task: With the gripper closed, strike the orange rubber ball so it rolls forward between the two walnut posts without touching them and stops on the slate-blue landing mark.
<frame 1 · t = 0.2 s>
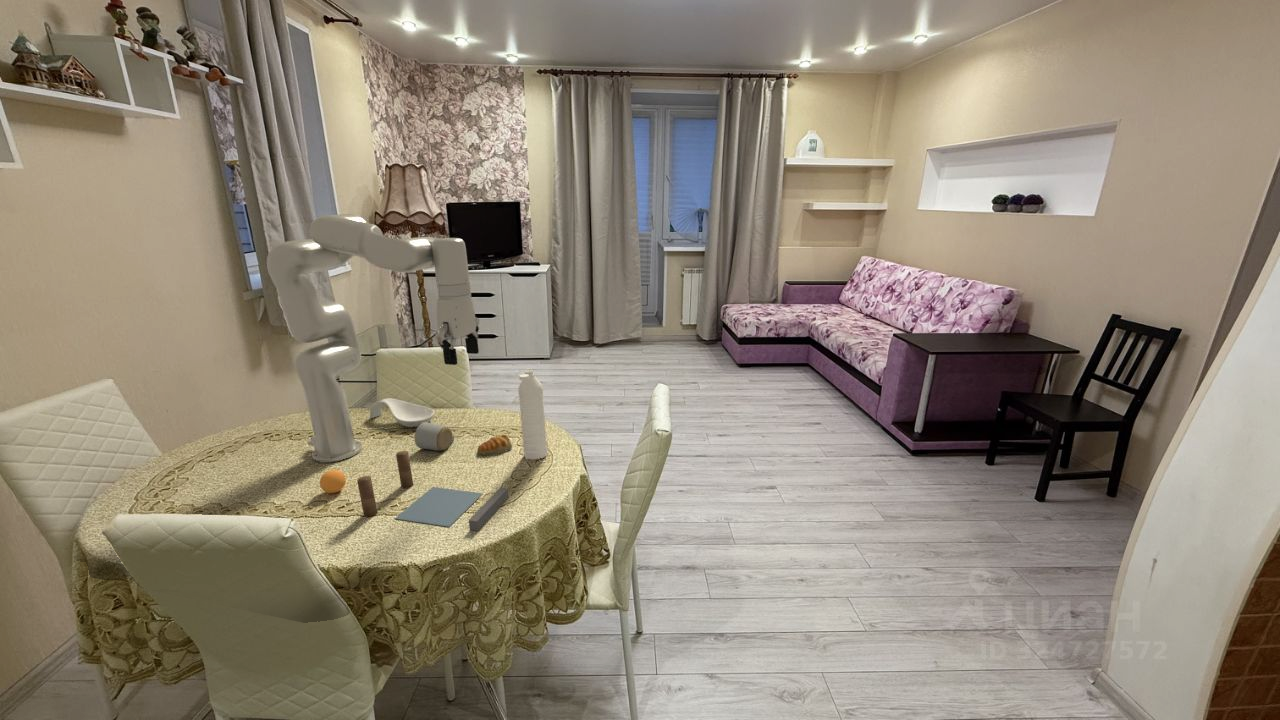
hand: (462, 358, 132), 31 cm above the table, tool pointing down, fingers open, 9 cm apart
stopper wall: (490, 512, 121), on the table
water bottle: (534, 457, 147), on the table
post 2: (407, 485, 133), on the table
landing mark: (440, 506, 124), on the table
ball: (332, 481, 130), on the table
pastry: (496, 450, 152), on the table
post 1: (370, 513, 121), on the table
spoon rest: (402, 422, 173), on the table
ceramic mug: (438, 447, 155), on the table
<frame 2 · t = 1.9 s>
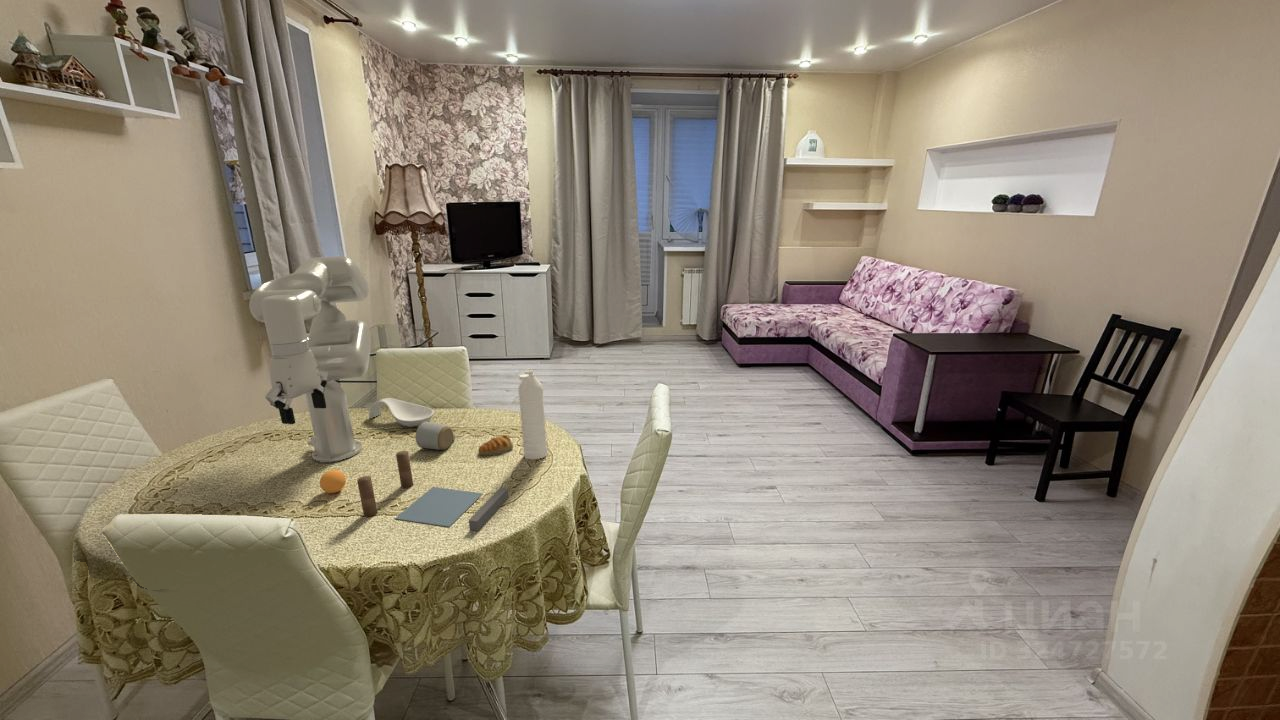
hand: (305, 415, 128), 19 cm above the table, tool pointing down, fingers open, 9 cm apart
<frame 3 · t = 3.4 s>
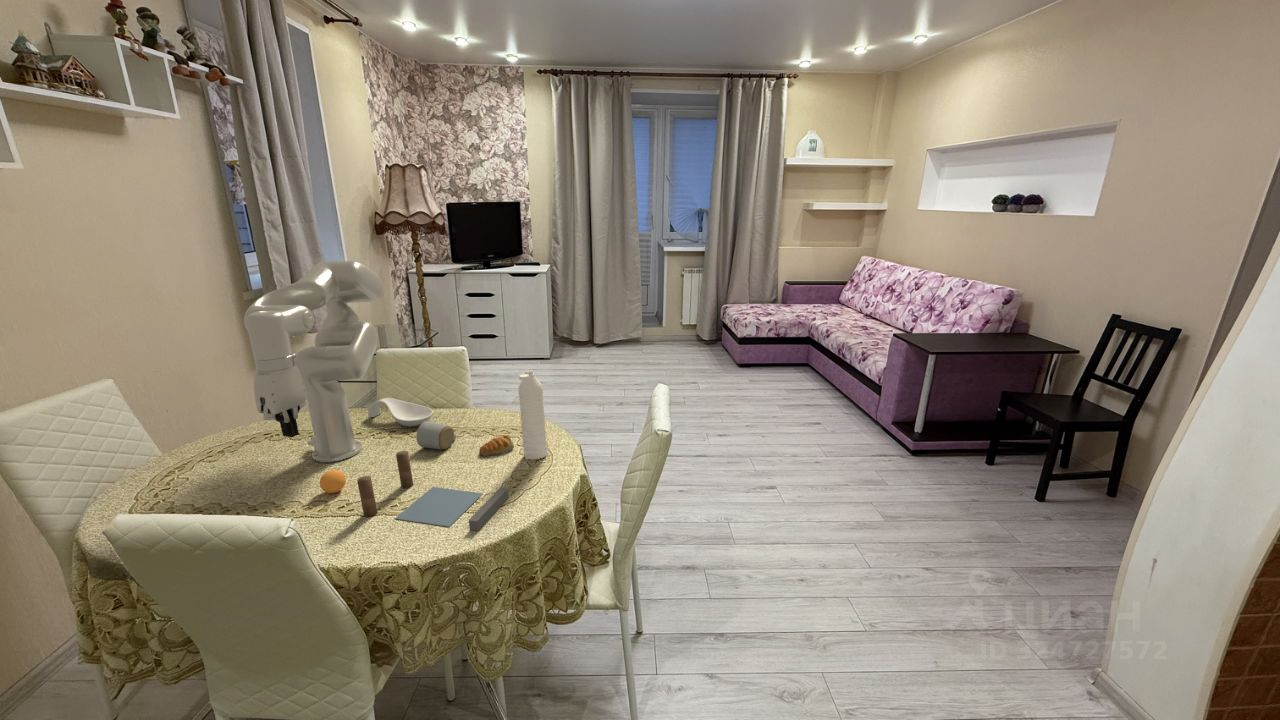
hand: (291, 435, 129), 15 cm above the table, tool pointing down, fingers closed
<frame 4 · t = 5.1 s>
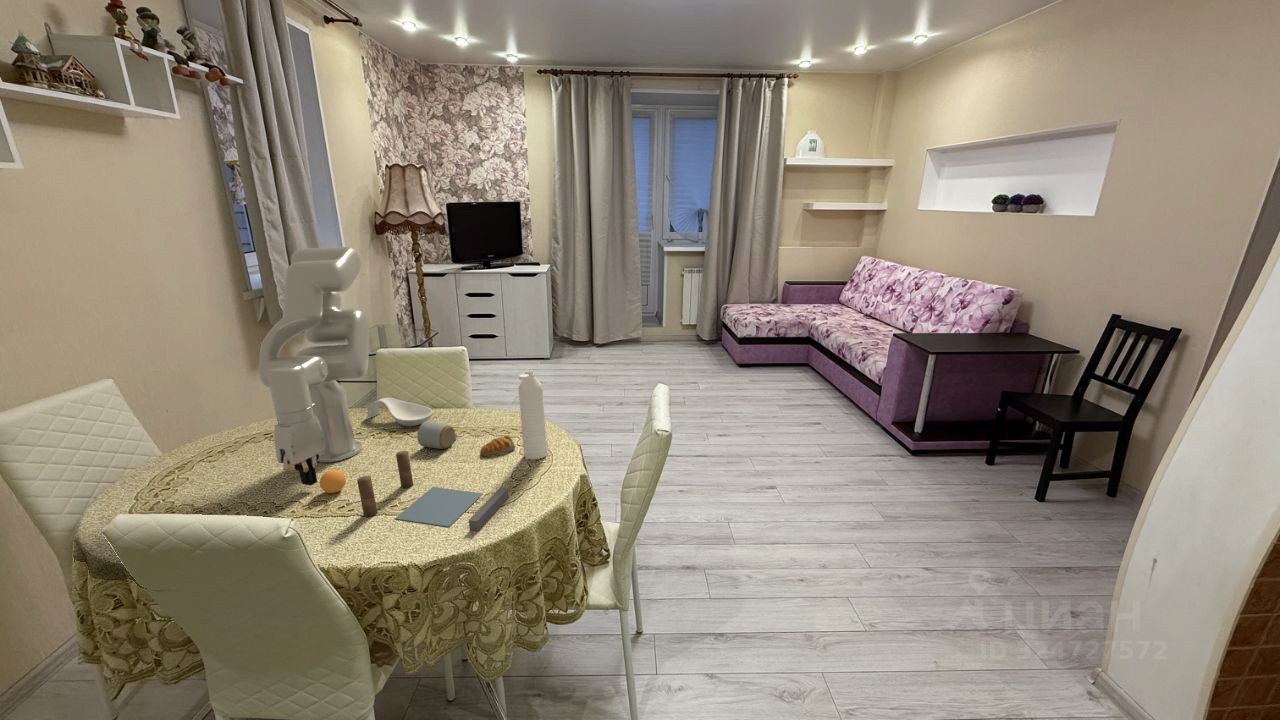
hand: (309, 483, 132), 2 cm above the table, tool pointing down, fingers closed
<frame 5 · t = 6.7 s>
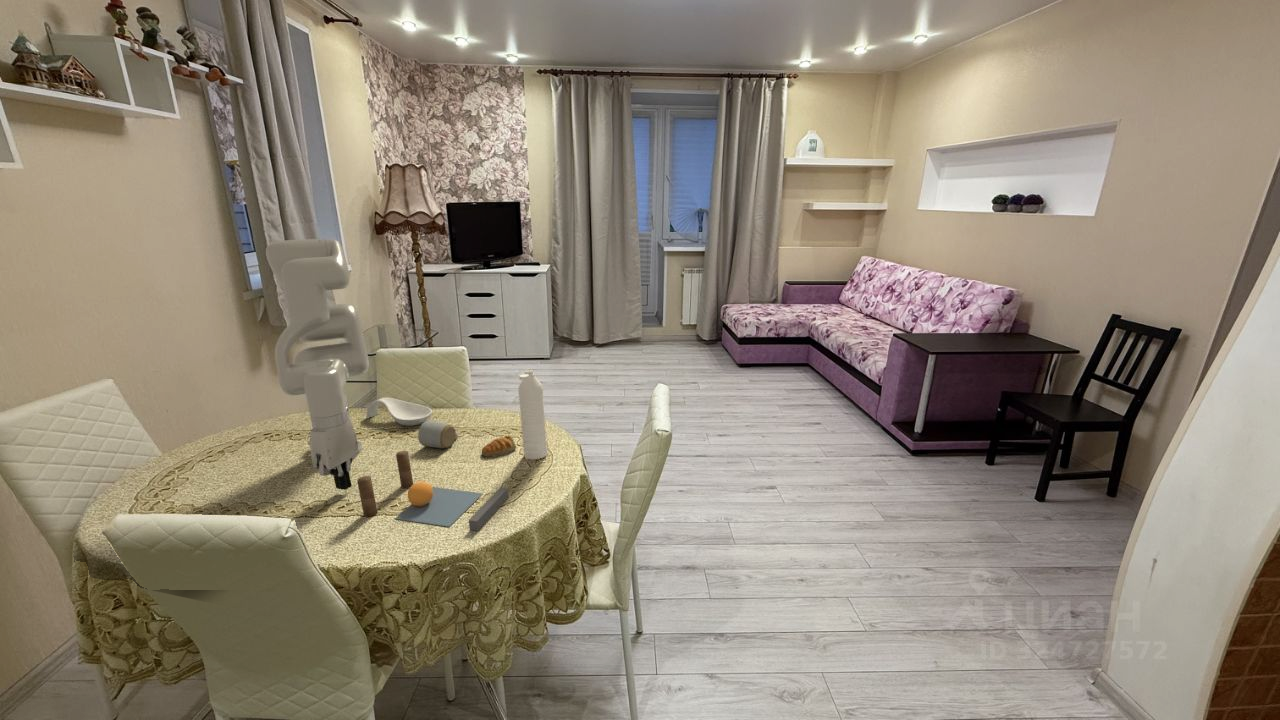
hand: (343, 487, 130), 2 cm above the table, tool pointing down, fingers closed
ball: (420, 493, 124), on the table
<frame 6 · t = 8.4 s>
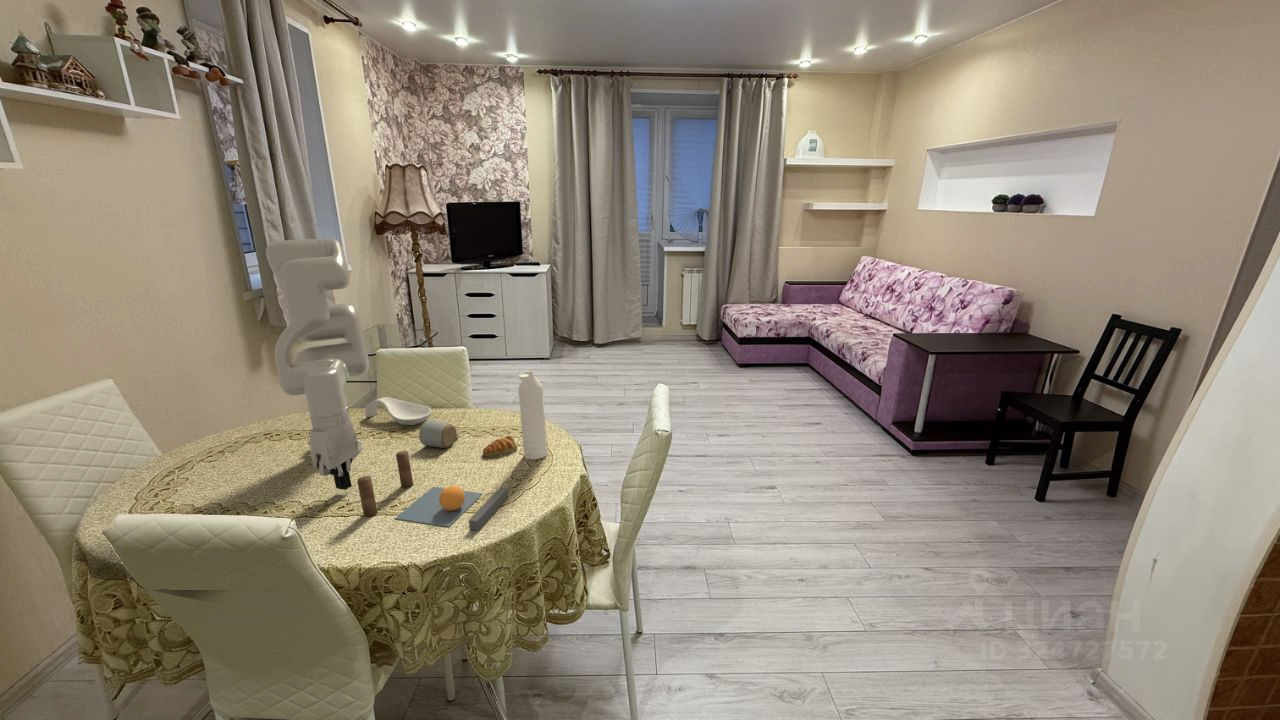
hand: (343, 487, 130), 2 cm above the table, tool pointing down, fingers closed
ball: (452, 498, 122), on the table
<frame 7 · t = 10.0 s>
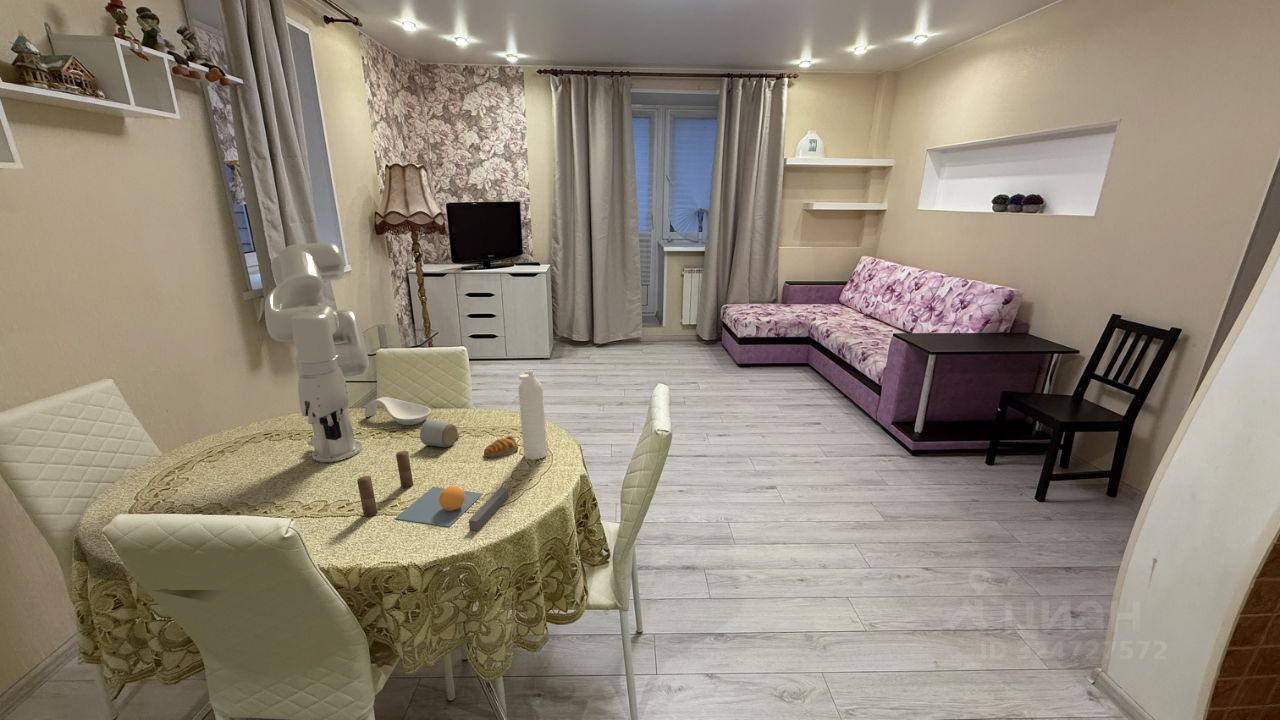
hand: (333, 438, 127), 15 cm above the table, tool pointing down, fingers closed
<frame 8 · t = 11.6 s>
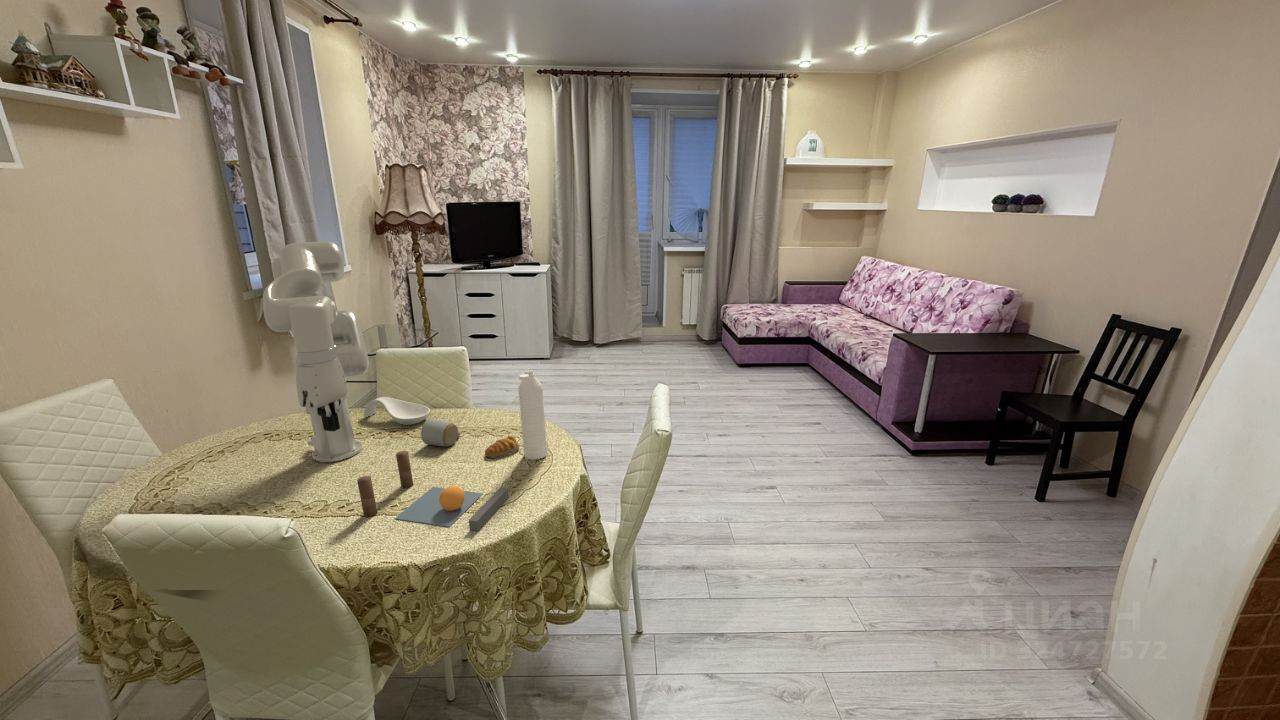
hand: (332, 429, 125), 17 cm above the table, tool pointing down, fingers closed
at the end: ball 3.7 cm from the landing mark (horizontally); ball never touched post 2; ball never touched post 1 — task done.
